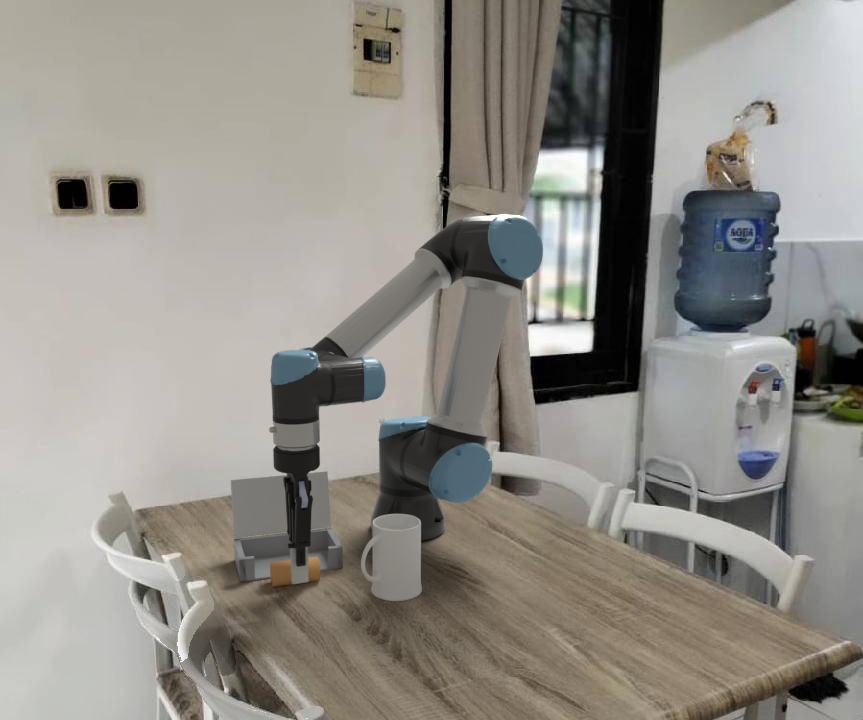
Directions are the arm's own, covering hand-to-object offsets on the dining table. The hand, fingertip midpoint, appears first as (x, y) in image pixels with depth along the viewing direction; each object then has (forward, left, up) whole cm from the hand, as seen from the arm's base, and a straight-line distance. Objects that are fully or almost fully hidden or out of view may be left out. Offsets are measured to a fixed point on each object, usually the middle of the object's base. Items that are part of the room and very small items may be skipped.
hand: (299, 581), depth 129 cm
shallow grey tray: (0, -11, -1) cm, 11 cm away
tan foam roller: (0, -3, +1) cm, 3 cm away
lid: (0, -17, +8) cm, 19 cm away
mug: (-14, +6, -2) cm, 15 cm away
